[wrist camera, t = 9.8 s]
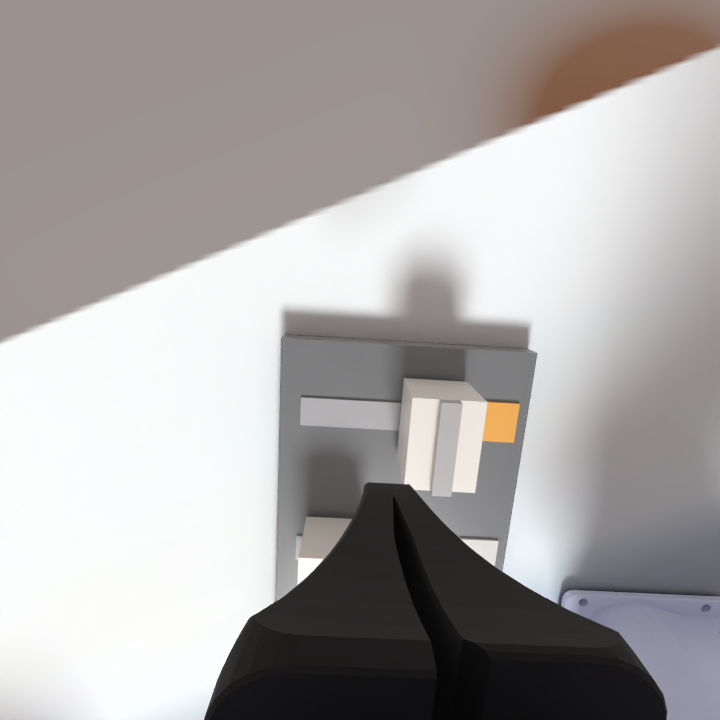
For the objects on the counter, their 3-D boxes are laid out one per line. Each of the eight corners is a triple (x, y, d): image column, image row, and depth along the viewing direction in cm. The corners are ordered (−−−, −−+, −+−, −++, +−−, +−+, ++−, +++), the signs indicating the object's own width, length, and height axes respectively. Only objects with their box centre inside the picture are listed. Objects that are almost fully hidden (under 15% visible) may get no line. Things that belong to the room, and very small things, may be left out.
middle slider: (365, 519, 21) (367, 567, 17) (360, 586, 22) (361, 645, 18) (306, 516, 21) (297, 564, 17) (303, 584, 21) (294, 642, 18)
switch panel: (528, 349, 20) (538, 353, 19) (473, 702, 25) (479, 722, 24) (285, 334, 20) (280, 338, 19) (276, 694, 25) (272, 714, 24)
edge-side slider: (467, 381, 19) (490, 405, 16) (457, 460, 20) (478, 498, 17) (403, 377, 19) (413, 401, 16) (396, 457, 20) (404, 494, 17)
